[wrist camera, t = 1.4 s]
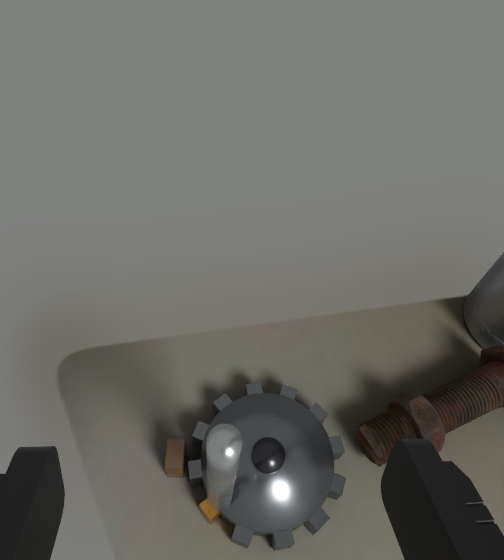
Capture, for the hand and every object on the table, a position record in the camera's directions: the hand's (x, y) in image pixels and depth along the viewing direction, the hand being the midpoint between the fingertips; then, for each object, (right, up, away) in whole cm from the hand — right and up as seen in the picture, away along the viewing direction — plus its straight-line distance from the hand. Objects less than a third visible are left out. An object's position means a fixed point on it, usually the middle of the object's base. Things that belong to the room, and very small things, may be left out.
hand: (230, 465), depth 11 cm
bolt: (+16, -7, +27) cm, 32 cm away
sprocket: (+1, -9, +23) cm, 25 cm away
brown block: (-5, -9, +23) cm, 25 cm away
